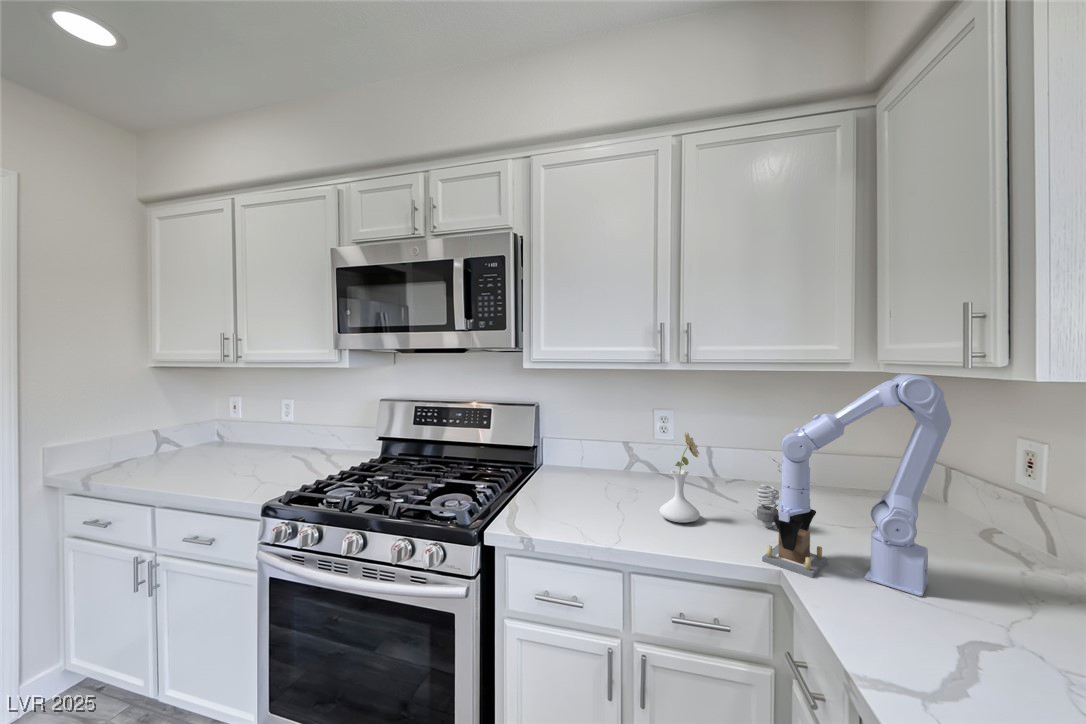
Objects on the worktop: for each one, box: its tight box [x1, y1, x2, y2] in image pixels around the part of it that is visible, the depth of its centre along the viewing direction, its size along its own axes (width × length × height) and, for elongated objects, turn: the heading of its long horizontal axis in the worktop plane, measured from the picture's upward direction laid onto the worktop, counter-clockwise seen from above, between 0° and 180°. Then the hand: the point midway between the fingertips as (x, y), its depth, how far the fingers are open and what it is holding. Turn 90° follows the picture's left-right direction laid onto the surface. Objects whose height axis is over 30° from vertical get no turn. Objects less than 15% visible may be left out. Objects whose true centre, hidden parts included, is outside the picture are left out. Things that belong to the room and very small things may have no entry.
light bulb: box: [755, 484, 780, 529], centre depth 123 cm, size 6×6×12 cm
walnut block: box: [778, 529, 811, 564], centre depth 103 cm, size 5×5×6 cm
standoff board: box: [761, 543, 828, 579], centre depth 103 cm, size 10×10×4 cm
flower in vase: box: [658, 431, 701, 524], centre depth 130 cm, size 13×11×25 cm
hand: (794, 544), depth 103 cm, fingers open, 7 cm apart
